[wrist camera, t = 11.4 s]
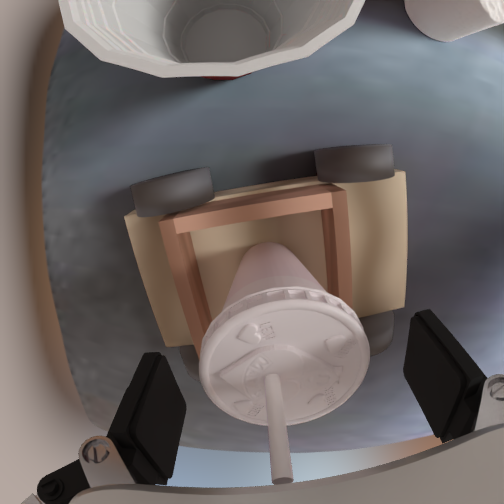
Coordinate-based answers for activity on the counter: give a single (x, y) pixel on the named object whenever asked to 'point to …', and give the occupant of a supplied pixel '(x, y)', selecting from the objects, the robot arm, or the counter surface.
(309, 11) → the plastic cup
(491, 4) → the roll
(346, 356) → the smoothie
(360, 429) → the counter surface
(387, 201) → the chassis
